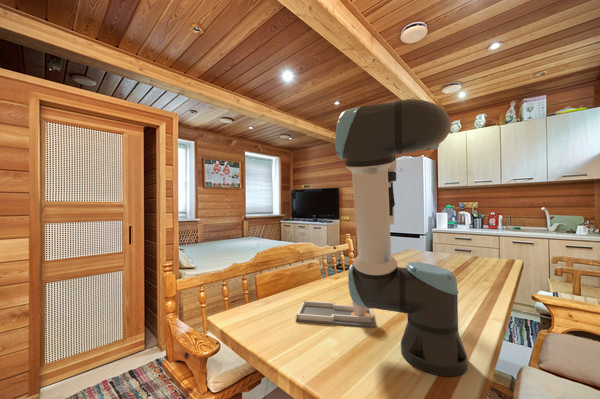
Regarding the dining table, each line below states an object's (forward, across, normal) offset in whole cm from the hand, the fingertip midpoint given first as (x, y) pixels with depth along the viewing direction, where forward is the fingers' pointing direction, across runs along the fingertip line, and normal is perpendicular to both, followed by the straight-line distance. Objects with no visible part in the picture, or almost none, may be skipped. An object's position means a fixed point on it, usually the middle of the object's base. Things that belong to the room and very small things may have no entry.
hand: (387, 223), depth 103 cm
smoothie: (+31, +18, -12) cm, 38 cm away
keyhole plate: (+32, +18, -21) cm, 42 cm away
